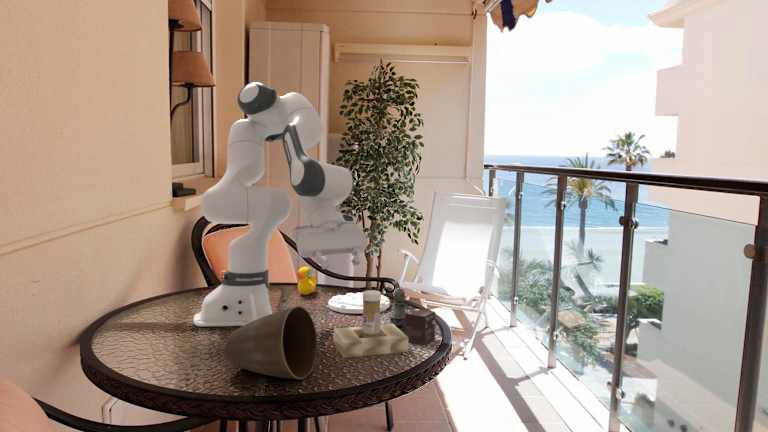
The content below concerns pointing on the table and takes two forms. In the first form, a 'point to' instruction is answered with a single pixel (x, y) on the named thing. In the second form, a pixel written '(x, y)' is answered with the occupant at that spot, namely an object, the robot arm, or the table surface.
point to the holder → (370, 341)
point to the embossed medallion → (353, 303)
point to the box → (420, 326)
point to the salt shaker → (398, 310)
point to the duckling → (306, 281)
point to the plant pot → (276, 344)
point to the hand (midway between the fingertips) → (342, 266)
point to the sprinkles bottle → (371, 313)
